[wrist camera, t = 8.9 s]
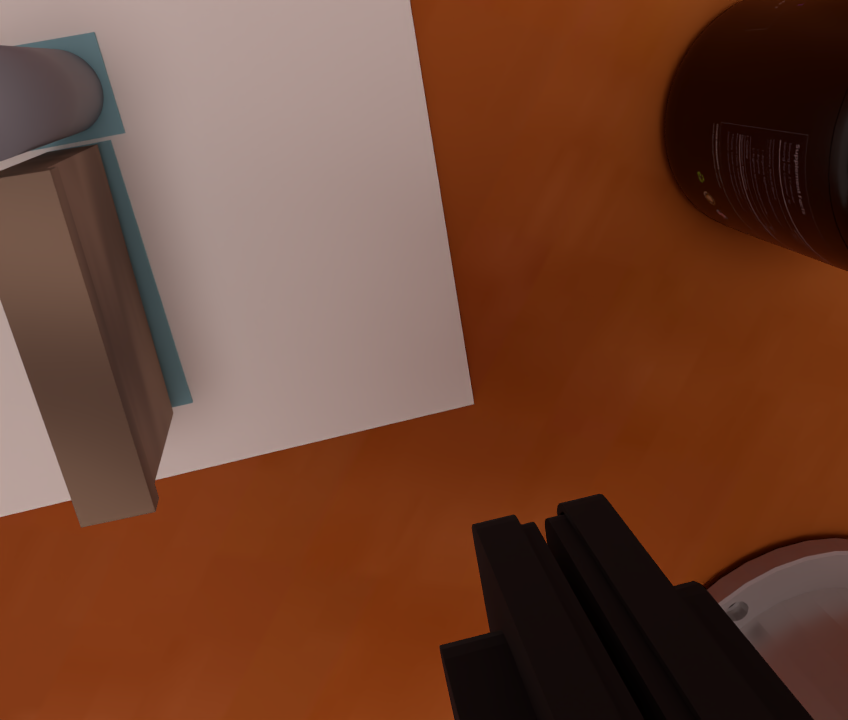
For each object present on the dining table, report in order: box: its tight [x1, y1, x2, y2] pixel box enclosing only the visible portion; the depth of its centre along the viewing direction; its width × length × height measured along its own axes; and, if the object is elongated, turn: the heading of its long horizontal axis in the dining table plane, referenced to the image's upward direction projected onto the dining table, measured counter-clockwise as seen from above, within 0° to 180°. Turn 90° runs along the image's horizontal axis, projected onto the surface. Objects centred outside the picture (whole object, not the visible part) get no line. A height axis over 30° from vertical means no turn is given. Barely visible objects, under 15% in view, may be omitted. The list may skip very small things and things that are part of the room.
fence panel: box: [0, 144, 173, 527], centre depth 18 cm, size 8×2×5 cm, turn 8°
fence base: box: [0, 0, 474, 517], centre depth 17 cm, size 19×16×7 cm
